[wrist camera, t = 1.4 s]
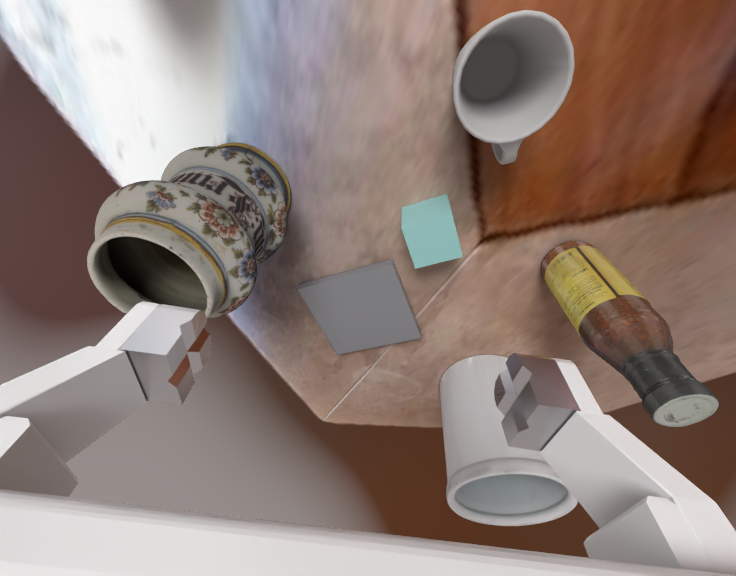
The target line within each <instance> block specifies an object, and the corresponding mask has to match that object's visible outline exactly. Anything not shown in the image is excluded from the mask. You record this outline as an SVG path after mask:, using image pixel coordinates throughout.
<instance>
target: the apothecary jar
mask: <svg viewBox="0 0 736 576" xmlns="http://www.w3.org/2000/svg"><path fill="white" fill-rule="evenodd" d="M290 200H291V195H290V187H289V184H288V181H287V178H286V176H285V174H284V173H283V171H282V170H281V168H280V167H279V165H278V164H277V163H276V162H275V161H274V160H273V159H272V158H271V157H270V156H269V155H267V154H266V153H264V152H263V151H261V150H260V149H258V148H256V147H254V146H250V145H247V144H243V143H227V144H222V145H220V146H218V147H198V148H193V149H189V150H187V151H184V152H182V153H180V154H179V155H177V156H176V157H175V158H174V159H173V160H172V161H171V162H170V163H169V164H168V165H167V167H166V169H165V170H164V173H163V175H162V178H161V181H154V180H152V181H141V182H136V183H133V184H130V185H127V186H125V187H123V188H121V189H119V190H117V191H116V192H114V193H113V194H112V195H111V196H109V197H108V198H107V200H106V201H105V202H104V203H103V205H102V206H101V209H100V210H99V213H98V216H97V219H96V224H95V239H96V240H95V242H94V243H93V244H92V246H91V248H90V250H89V252H88V257H87V265H88V271H89V274H90V276H91V279H92V281H93V282H94V284H95V286H96V287H97V289H98V290H99V291H100V293H102V295H103V296H104V297H105V298H106V299H107V300H108V301H109V302H110V303H111V304H113V305H114V306H115V307H116V308H118V309H119V310H120V311H122V312H123V313H125V314H127V313H128V312H129V311H130V310H131V309H132V308H133V307H134V306H135V305H136V304H138V303H140V302H143V301H145V302H151V303H157V304H165V305H171V306H178V307H184V308H190V309H196V310H201V311H203V312H205V314H206V318H207V319H209V318H214V317H218V316H222V315H225V314H227V313H230V312H232V311H233V310H235V309H237V308H238V307H239V306H240V305H242V304H243V303H244V302H245V300H246V299H247V298H248V297H249V295H250V293H251V291H252V289H253V287H254V284H255V280H256V275H257V264H258V263H261V262H263V261H265V260H266V259H268V258H269V257H270V256H272V255H273V254H274V253H275V252H276V250H277V249H278V248H279V247H280V245H281V243H282V241H283V239H284V237H285V234H286V229H287V212H288V209H289V206H290Z"/></svg>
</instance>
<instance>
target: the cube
mask: <svg viewBox="0 0 736 576" xmlns="http://www.w3.org/2000/svg"><path fill="white" fill-rule="evenodd" d="M401 229H402V232H403V235H404V238H405V241H406V243H407V246H408V249H409V252H410V255H411V258H412V261H413V263H414V266H415V269H417V268H421V267H425V266H429V265H433V264H437V263H440V262H444V261H448V260H452V259H456V258H460V257H463V256H462V252H461V248H460V244H459V240H458V236H457V231H456V227H455V223H454V219H453V215H452V211H451V207H450V203H449V199H448V195H447V194H444V195H441V196H438V197H435V198H431V199H428V200H425V201H422V202H418V203H415V204H412V205H409V206H406V207H402V224H401Z"/></svg>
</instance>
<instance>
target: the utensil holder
mask: <svg viewBox="0 0 736 576" xmlns="http://www.w3.org/2000/svg"><path fill="white" fill-rule="evenodd" d="M507 359H508V358H507V357H503V356H498V355H478V356H473V357H469V358H466V359H463V360H460V361H458V362H456V363H455V364H453V365H452V366H450V367H449V368H448V369H447V370H446V371H445V373H444V374H443V376H442V378H441V381H440V395H441V411H442V423H443V435H444V446H445V456H446V466H447V479H448V484H447V488H446V496H447V502H448V504H449V506H450V508H451V509H452V510H453V511H454V512H455V513H457V514H458V515H460V516H462V517H464V518H466V519H469V520H472V521H475V522H479V523H484V524H490V525H500V526H521V525H530V524H537V523H543V522H547V521H551V520H553V519H556V518H559V517H562V516H564V515H565V514H567V513H569V512H570V511H571V510H572V509H573V508H574V507H575V506H576V504H577V503H578V500H577V499H576V498H575V496H574V495H573V494H572V493H571V491H570V490H569V489H568V488H567V486H566V485H565V484H564V483H563V481H562V480H561V479H560V478H559V476H558V475H557V474H556V473H555V471H554V470H553V469H552V468H551V466H550V465H549V464H548V463H547V461H546V460H545V459H544V458H543V456H542V455H541V454H540V452H541V451H534V450H528V449H522V448H515V447H509V446H508V444H507V441H506V437H505V434H504V431H503V427H502V424H501V422H502V420H503V418H504V416H505V415H504V414H503V413H502V412H501V411H500V410H499V409H498V408H497V406H496V402H495V397H494V388H495V381H496V379H497V377H498V375H499V373H501V372H503V371H505V370H507V369H508V368H507V365H506V361H507Z"/></svg>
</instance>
